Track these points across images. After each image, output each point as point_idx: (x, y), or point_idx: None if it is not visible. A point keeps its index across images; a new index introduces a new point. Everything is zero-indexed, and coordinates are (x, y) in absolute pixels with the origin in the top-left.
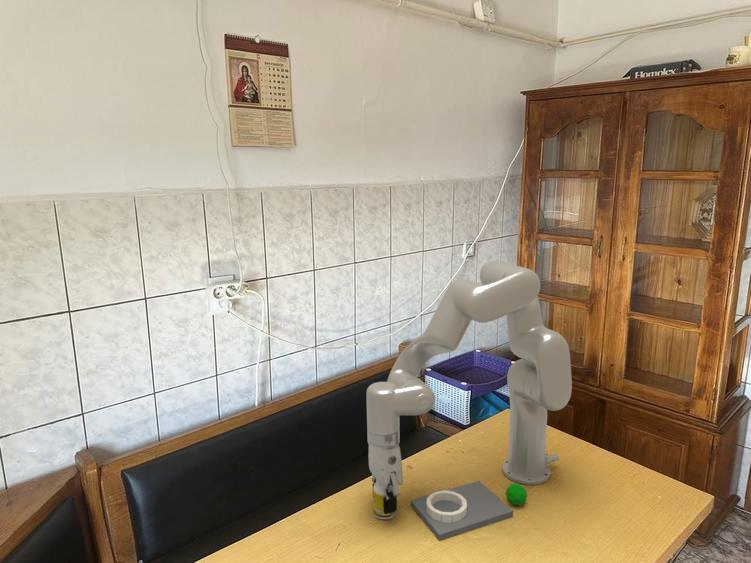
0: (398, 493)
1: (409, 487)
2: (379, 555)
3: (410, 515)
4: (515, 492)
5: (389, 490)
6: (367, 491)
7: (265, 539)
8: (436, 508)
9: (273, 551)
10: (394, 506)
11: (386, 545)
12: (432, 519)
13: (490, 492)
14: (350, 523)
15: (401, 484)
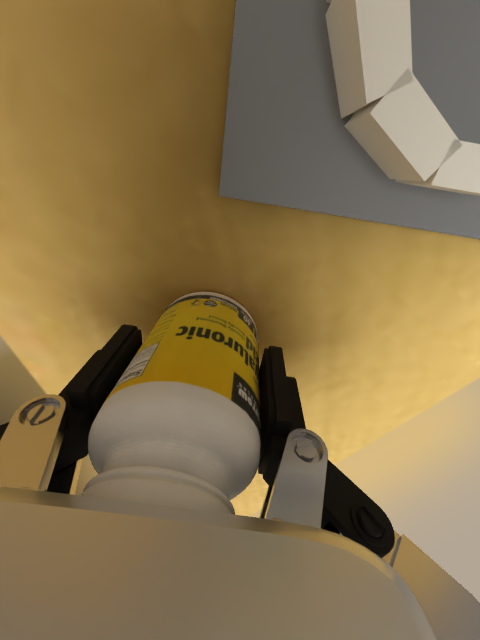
0: (474, 618)
1: (24, 49)
2: (376, 436)
3: (292, 248)
4: None
5: (250, 475)
6: (29, 310)
7: None
8: (430, 65)
9: None
10: (296, 392)
11: (361, 408)
12: (474, 198)
13: None
14: None
15: (401, 581)
